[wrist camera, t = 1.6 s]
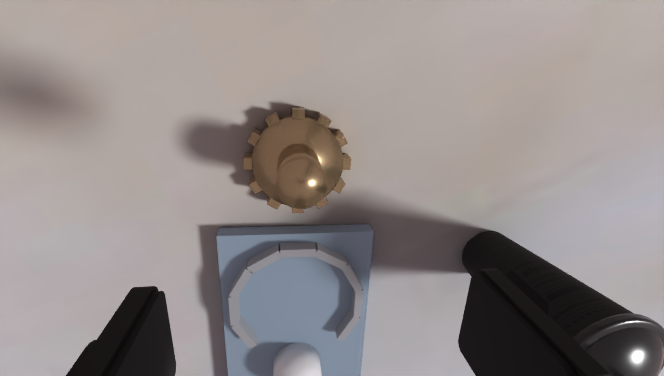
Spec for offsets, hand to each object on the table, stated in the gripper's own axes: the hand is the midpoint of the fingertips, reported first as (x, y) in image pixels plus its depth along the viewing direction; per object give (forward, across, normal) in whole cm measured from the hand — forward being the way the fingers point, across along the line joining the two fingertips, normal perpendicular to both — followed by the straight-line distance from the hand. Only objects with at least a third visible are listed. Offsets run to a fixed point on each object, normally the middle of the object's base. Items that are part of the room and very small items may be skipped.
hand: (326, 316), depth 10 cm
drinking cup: (+18, -18, +10) cm, 28 cm away
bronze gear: (+18, 0, 0) cm, 18 cm away
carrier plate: (+18, 0, +15) cm, 23 cm away
